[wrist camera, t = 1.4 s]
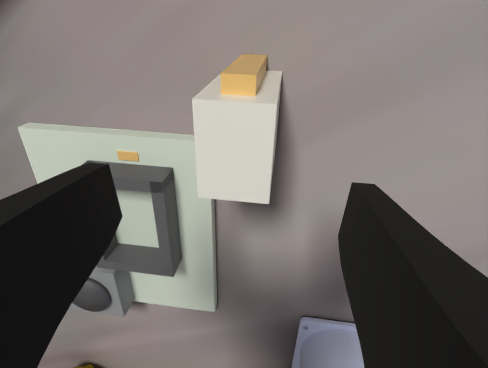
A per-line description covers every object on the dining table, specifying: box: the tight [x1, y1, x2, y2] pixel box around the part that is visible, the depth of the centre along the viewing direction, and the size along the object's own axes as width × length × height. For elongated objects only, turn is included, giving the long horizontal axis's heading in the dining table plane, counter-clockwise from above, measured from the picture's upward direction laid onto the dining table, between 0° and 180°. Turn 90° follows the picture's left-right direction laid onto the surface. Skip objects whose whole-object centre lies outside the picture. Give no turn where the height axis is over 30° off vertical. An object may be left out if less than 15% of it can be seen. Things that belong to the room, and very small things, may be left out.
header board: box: [18, 123, 217, 317], centre depth 23 cm, size 16×13×3 cm
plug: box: [192, 54, 282, 204], centre depth 15 cm, size 5×3×7 cm, turn 178°
